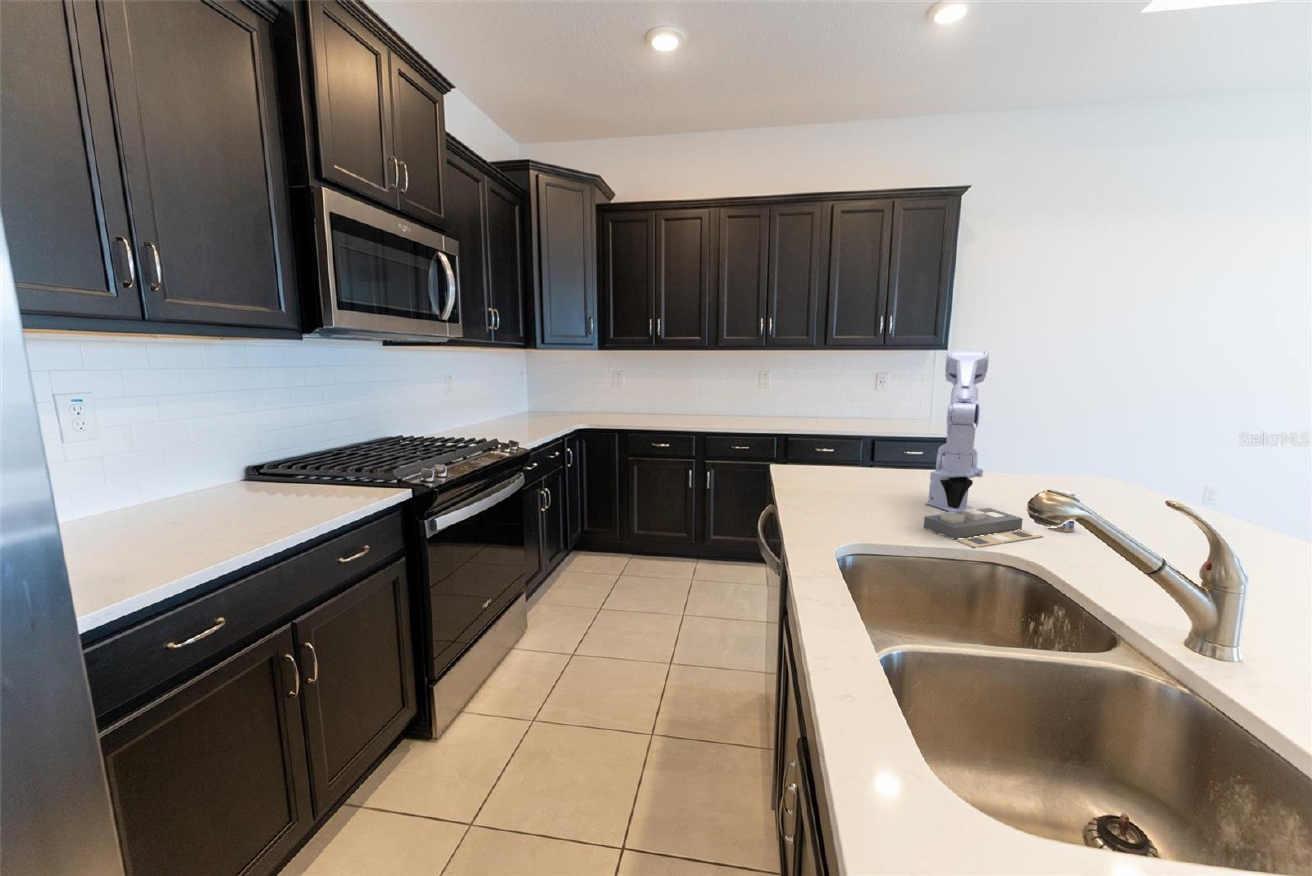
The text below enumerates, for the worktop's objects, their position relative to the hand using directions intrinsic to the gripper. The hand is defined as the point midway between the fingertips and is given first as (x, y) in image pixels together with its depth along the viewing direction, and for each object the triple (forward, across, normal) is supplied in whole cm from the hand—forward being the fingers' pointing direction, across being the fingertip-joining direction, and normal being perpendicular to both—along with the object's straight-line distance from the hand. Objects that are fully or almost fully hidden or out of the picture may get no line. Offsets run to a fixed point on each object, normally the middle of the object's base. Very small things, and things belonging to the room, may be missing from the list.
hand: (953, 507), depth 128 cm
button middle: (+5, +7, 0) cm, 8 cm away
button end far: (+6, +14, 0) cm, 15 cm away
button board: (+6, +7, 0) cm, 9 cm away
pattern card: (+6, +7, -8) cm, 12 cm away
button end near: (+5, 0, 0) cm, 5 cm away
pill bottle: (+6, +28, -7) cm, 30 cm away
